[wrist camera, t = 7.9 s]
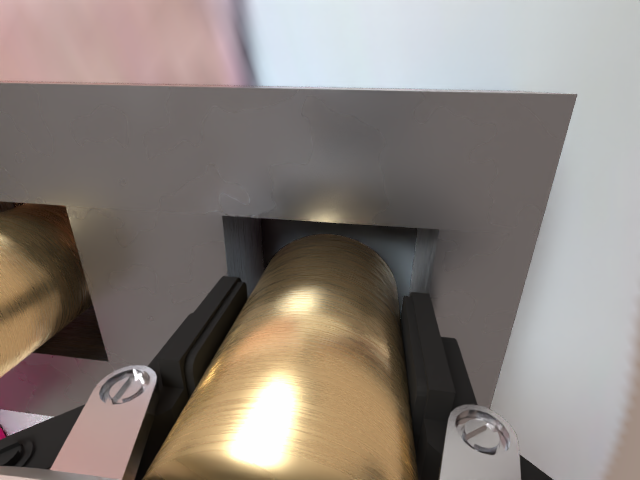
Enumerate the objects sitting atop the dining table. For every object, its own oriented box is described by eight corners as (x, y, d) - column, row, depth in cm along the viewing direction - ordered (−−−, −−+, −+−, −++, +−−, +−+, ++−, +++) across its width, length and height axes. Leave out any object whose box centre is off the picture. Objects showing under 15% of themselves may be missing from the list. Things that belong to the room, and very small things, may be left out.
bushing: (258, 229, 13) (100, 429, 5) (405, 239, 12) (453, 480, 5) (265, 344, 15) (155, 605, 7) (390, 357, 14) (408, 656, 7)
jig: (-85, 79, 15) (-508, 76, 8) (517, 91, 12) (723, 102, 5) (20, 345, 21) (-171, 487, 14) (451, 395, 18) (504, 609, 11)
